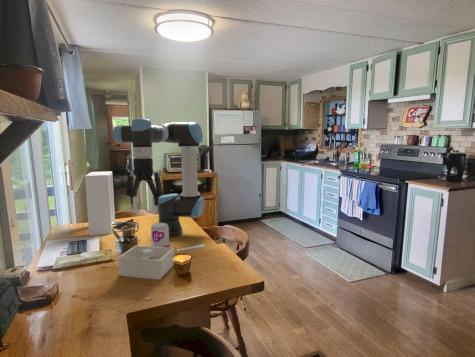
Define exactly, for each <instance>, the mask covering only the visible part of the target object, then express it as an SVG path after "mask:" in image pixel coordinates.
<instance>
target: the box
mask: <svg viewBox="0 0 475 357" xmlns="http://www.w3.org/2000/svg"><path fill="white" fill-rule="evenodd" d="M84 180H85V182H84V183H85V193H86V194H85V195H86V207H87V208H86V210H87V211H86V212H87V226H88V235H89V236H98V235H108V234H109V235H111V234H113V232H112V230H111V226H112V224H113V223H114V222H115V223H116V213H115V212H116V211H115V200H114V199H115V197H114V196H115V195H114V181H113V180H114V179H113V171H112V170H111V171H109V170H108V171H106V170H105V171H91V172H89V173H87V174H85V175H84Z"/></svg>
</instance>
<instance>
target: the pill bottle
mask: <svg viewBox="0 0 475 357" xmlns="http://www.w3.org/2000/svg"><path fill="white" fill-rule="evenodd" d="M142 254H143V255H142V258H147V259H153V254H152V250H151V249H145V250H143V251H142Z"/></svg>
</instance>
